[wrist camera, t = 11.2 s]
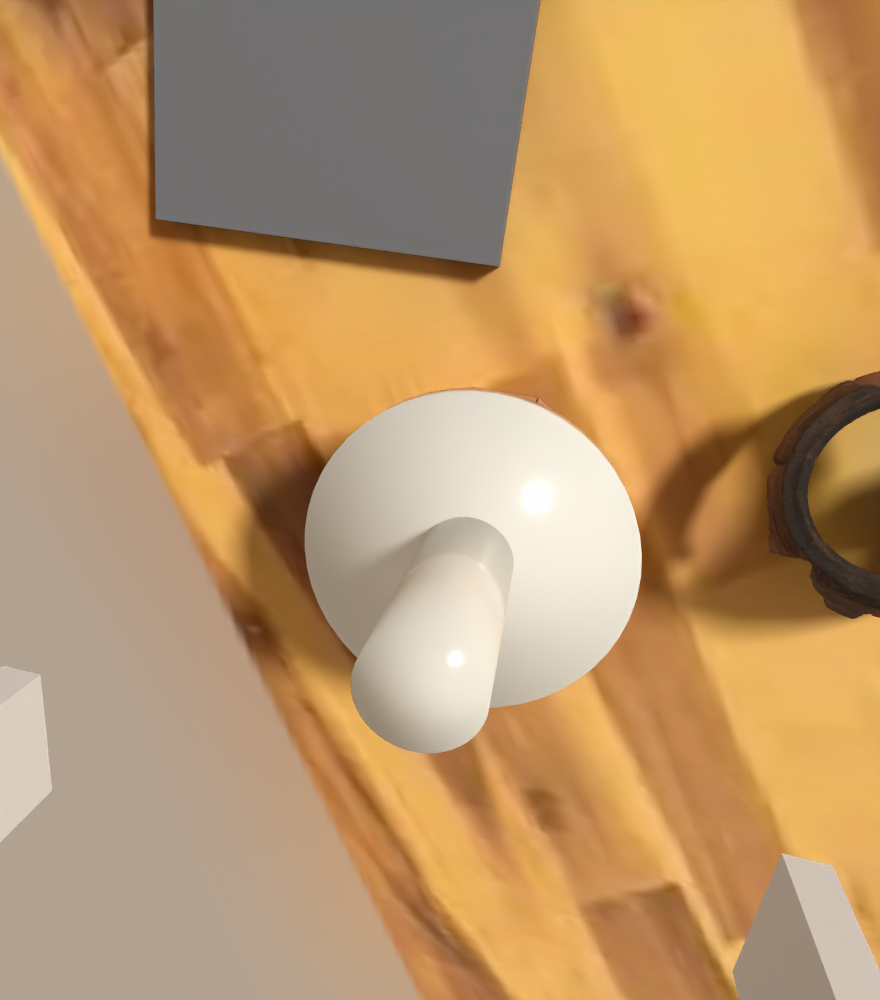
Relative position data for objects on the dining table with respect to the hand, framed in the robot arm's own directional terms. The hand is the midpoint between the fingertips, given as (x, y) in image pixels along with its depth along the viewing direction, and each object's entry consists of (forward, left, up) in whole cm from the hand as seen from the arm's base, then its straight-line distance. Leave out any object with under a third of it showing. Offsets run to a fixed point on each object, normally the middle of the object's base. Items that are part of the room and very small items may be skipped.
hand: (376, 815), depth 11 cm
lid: (0, 0, -13) cm, 13 cm away
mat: (-17, -8, -18) cm, 26 cm away
